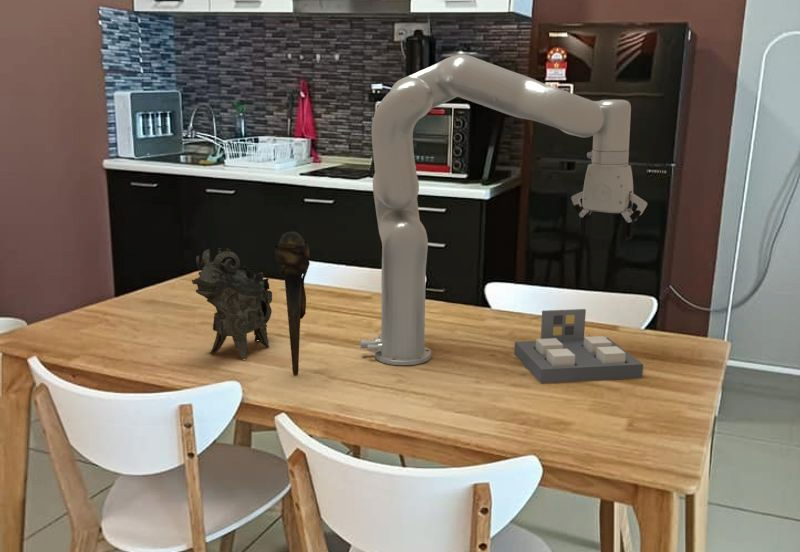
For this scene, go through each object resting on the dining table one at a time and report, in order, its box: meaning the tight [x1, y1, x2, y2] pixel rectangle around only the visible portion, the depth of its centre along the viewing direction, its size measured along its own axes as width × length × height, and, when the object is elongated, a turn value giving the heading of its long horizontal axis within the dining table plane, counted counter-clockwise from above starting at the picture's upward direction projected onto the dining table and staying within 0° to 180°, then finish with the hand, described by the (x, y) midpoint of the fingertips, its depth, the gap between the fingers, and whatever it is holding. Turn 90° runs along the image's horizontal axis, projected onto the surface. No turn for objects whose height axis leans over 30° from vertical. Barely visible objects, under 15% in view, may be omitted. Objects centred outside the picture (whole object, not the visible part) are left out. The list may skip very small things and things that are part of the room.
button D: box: [583, 335, 612, 353], centre depth 181 cm, size 4×4×2 cm
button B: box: [596, 346, 626, 364], centre depth 174 cm, size 4×4×2 cm
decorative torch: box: [274, 231, 311, 376], centre depth 169 cm, size 7×7×30 cm
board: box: [513, 337, 644, 384], centre depth 179 cm, size 22×18×3 cm
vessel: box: [191, 247, 273, 360], centre depth 183 cm, size 11×25×24 cm, turn 155°
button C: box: [535, 338, 563, 355], centre depth 179 cm, size 4×4×2 cm
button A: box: [546, 349, 575, 367], centre depth 173 cm, size 4×4×2 cm
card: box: [540, 308, 587, 341], centre depth 186 cm, size 10×1×7 cm, turn 100°
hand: (606, 237), depth 182 cm, fingers open, 9 cm apart
